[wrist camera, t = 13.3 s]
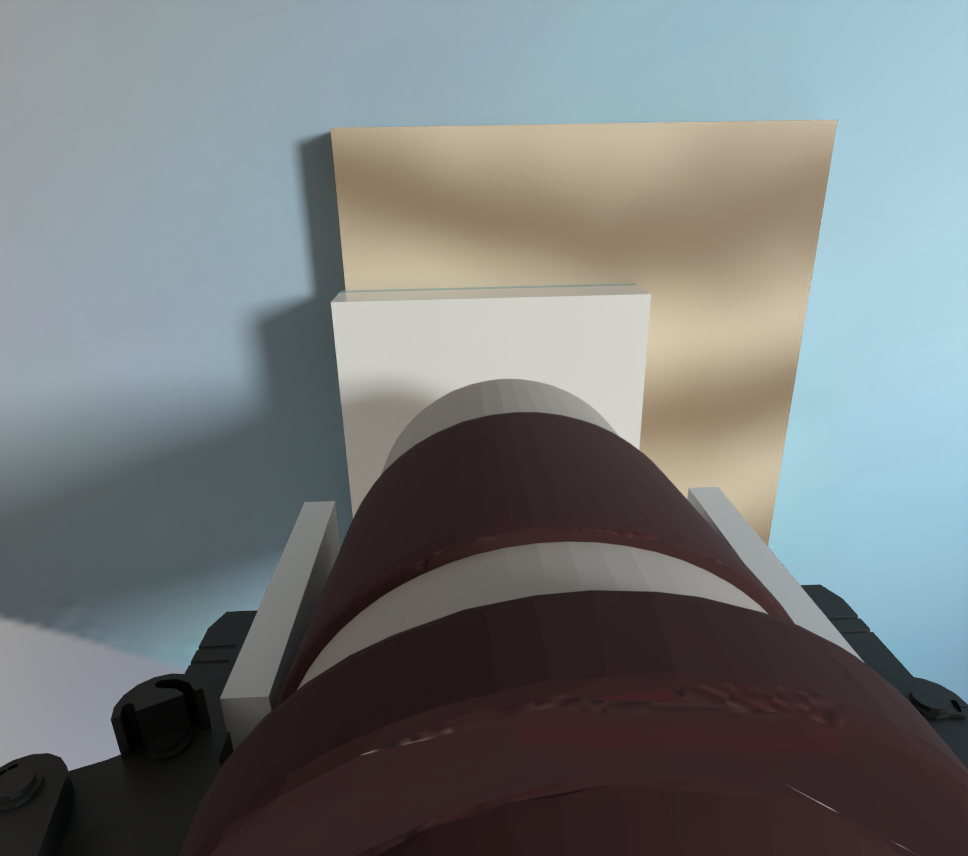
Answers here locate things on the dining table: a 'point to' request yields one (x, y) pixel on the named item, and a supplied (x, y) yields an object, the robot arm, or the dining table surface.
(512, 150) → the board
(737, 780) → the coffee cup
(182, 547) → the dining table surface
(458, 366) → the tile
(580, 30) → the dining table surface
